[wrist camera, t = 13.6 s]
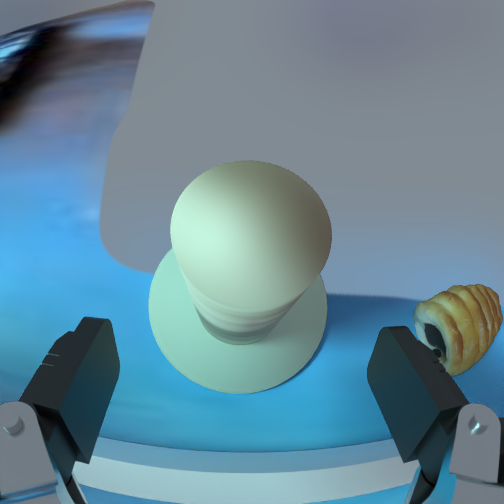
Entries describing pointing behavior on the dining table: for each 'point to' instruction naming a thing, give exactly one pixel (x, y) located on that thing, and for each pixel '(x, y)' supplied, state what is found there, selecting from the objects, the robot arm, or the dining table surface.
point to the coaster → (226, 355)
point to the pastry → (459, 325)
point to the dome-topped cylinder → (248, 246)
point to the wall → (244, 473)
